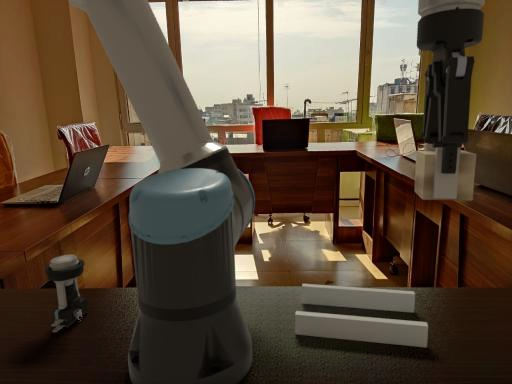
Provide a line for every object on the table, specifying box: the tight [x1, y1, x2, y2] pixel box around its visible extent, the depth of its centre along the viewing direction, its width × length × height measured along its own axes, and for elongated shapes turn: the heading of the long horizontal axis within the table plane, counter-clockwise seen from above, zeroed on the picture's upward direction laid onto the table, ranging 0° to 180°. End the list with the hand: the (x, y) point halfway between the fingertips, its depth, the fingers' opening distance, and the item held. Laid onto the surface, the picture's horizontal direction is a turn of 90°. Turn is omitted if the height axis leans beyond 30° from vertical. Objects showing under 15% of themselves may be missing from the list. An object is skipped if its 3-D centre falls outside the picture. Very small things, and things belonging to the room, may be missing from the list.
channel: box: [294, 283, 429, 348], centre depth 55 cm, size 17×10×3 cm, turn 77°
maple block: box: [414, 149, 477, 202], centre depth 51 cm, size 6×6×6 cm
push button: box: [44, 254, 89, 333], centre depth 56 cm, size 7×5×10 cm
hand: (438, 192), depth 52 cm, fingers closed on maple block, 6 cm apart
